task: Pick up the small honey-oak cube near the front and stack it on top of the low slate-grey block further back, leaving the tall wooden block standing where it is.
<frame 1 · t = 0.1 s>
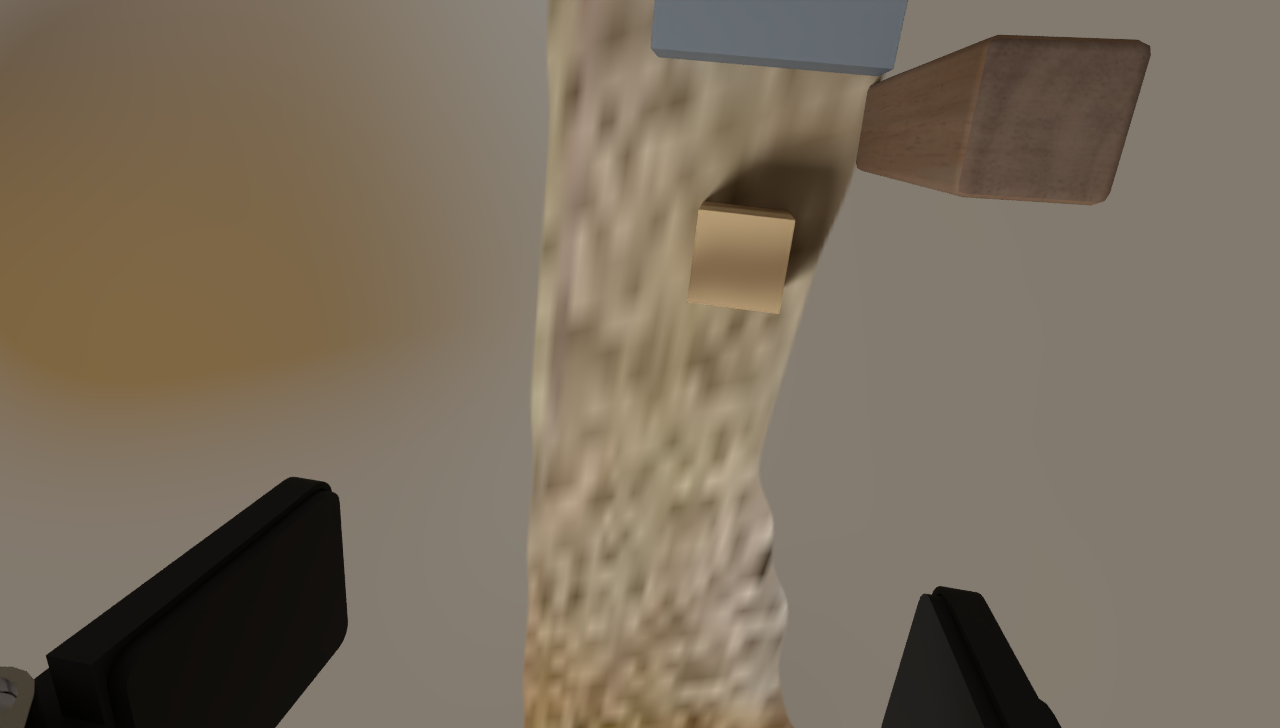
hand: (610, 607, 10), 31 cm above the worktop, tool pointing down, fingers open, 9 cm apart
wooden block: (944, 132, 35), on the worktop
oak cube: (739, 248, 39), on the worktop
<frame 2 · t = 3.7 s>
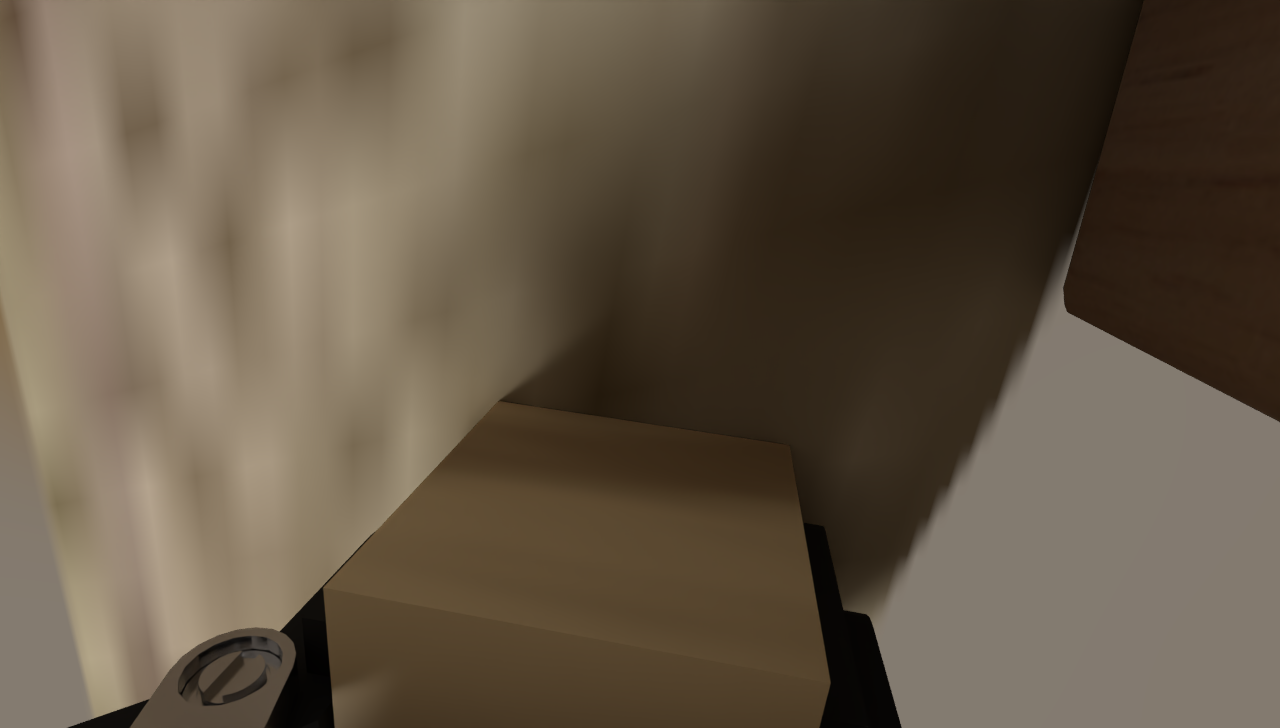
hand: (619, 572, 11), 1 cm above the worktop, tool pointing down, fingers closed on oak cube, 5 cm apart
oak cube: (627, 546, 12), on the worktop, touching gripper
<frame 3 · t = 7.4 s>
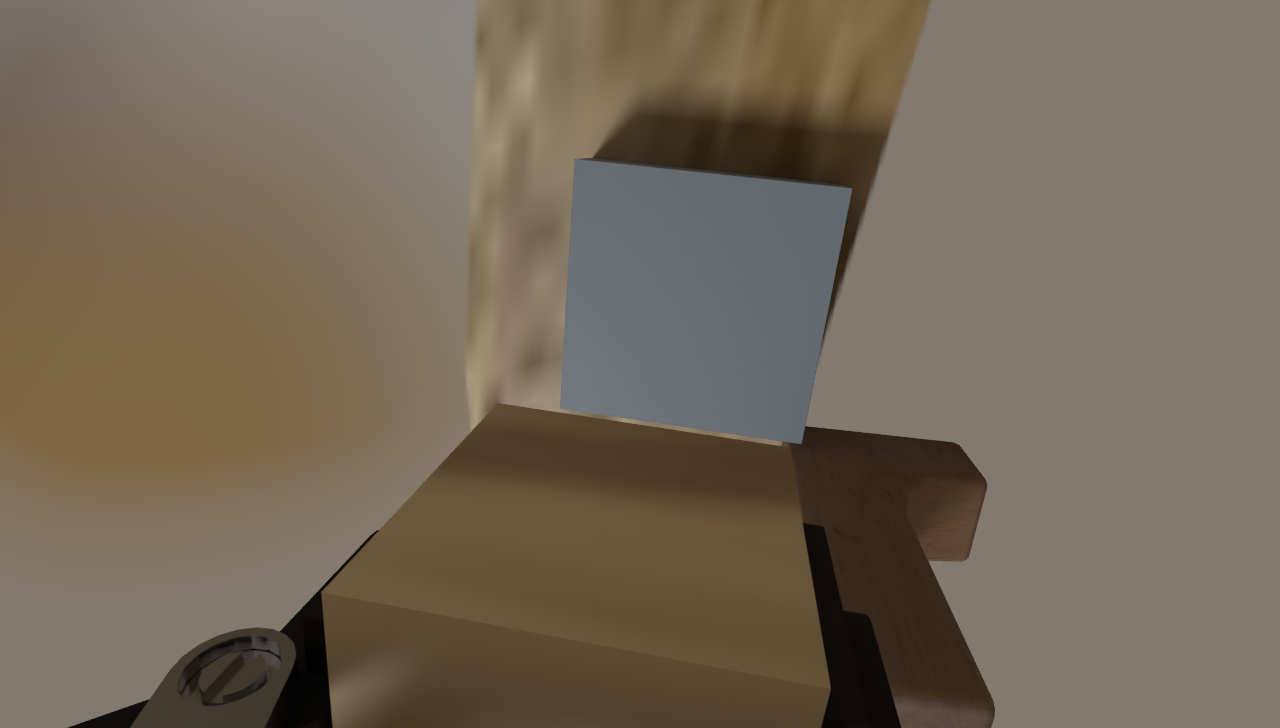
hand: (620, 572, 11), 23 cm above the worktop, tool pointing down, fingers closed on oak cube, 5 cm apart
wooden block: (862, 466, 35), on the worktop
oak cube: (626, 549, 12), point 23 cm above the worktop, touching gripper
slate base block: (698, 290, 33), on the worktop
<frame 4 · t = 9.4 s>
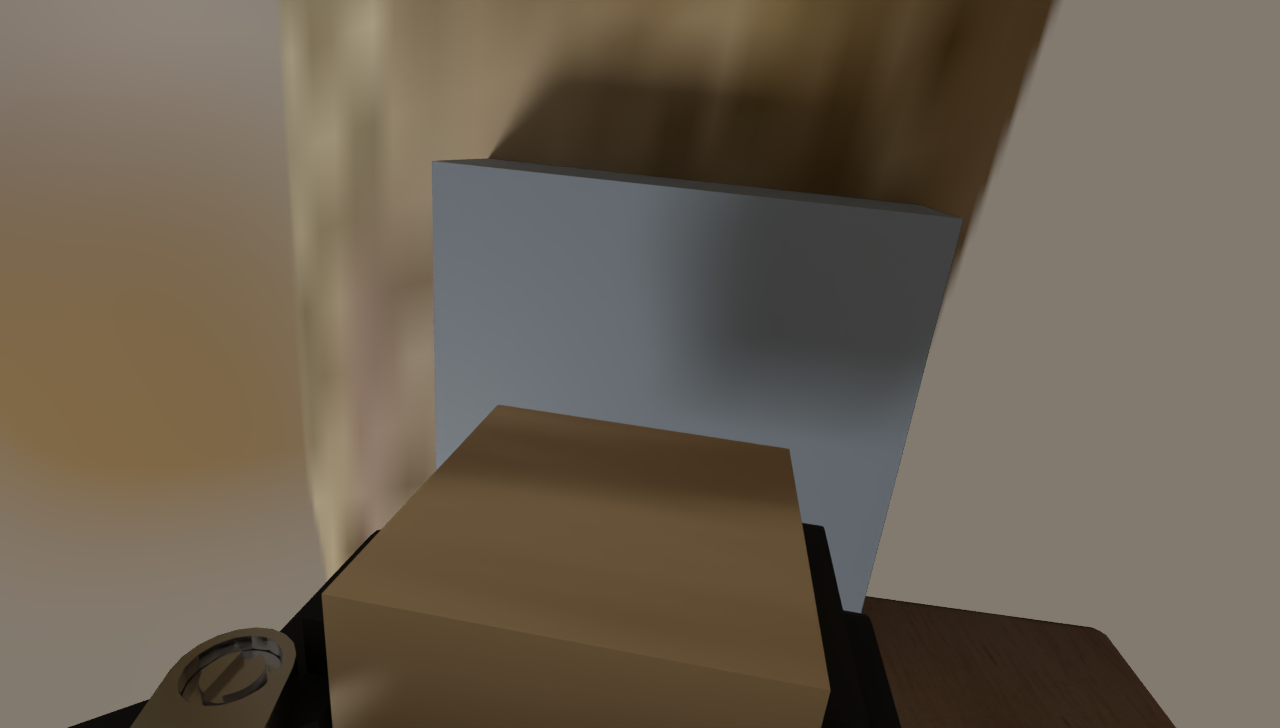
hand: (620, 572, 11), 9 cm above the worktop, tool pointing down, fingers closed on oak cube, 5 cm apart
wooden block: (939, 653, 22), on the worktop
oak cube: (626, 550, 12), point 9 cm above the worktop, touching gripper
slate base block: (672, 377, 20), on the worktop
when the fingers open (5 cm above the worktop, at t = 11.4 s): oak cube stays where it is, resting on slate base block.
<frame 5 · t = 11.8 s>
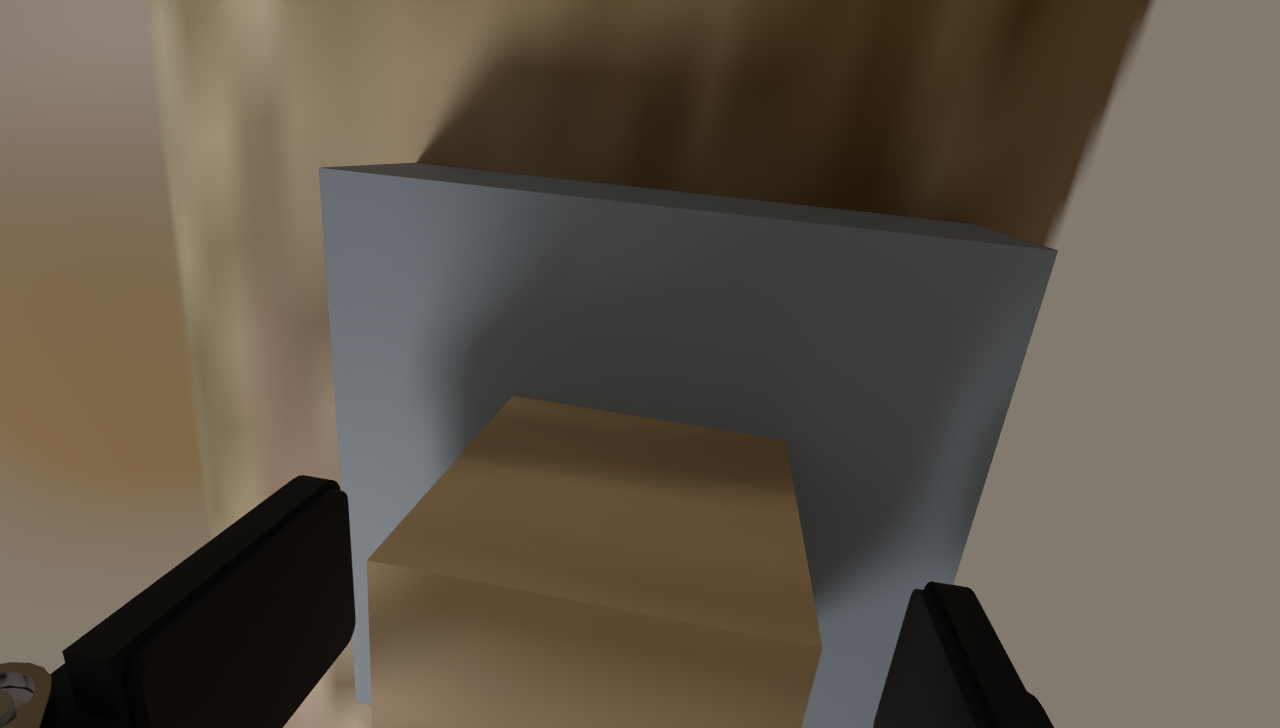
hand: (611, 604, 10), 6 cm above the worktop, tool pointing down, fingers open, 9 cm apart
oak cube: (631, 534, 12), point 3 cm above the worktop, touching slate base block
slate base block: (656, 436, 16), on the worktop, touching oak cube
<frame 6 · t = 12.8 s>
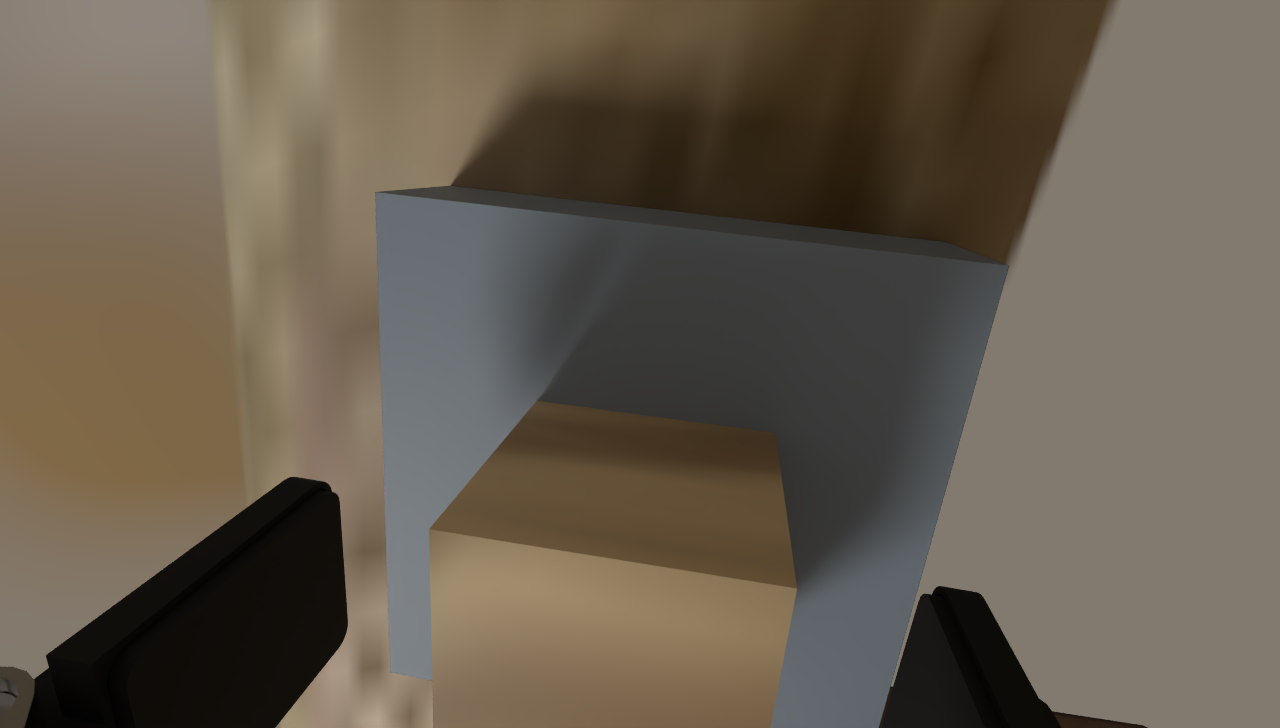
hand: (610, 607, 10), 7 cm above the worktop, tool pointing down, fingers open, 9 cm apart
oak cube: (643, 521, 14), point 3 cm above the worktop, touching slate base block
slate base block: (663, 432, 18), on the worktop, touching oak cube
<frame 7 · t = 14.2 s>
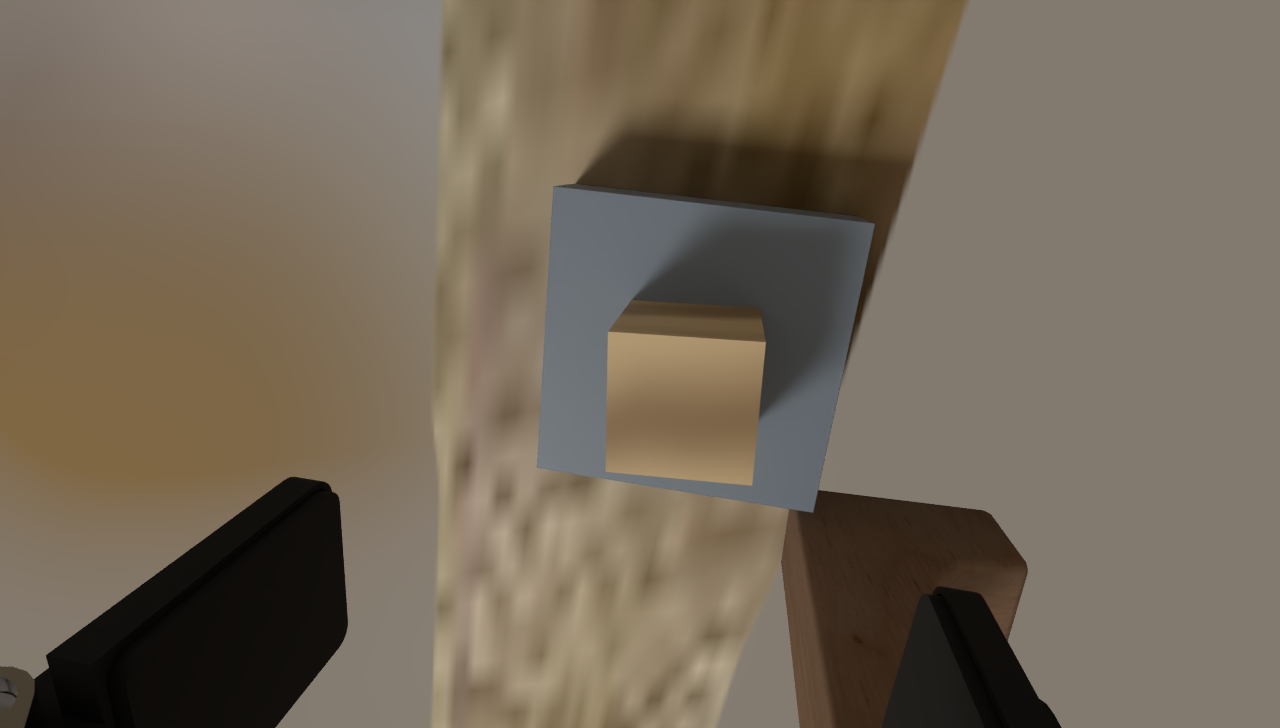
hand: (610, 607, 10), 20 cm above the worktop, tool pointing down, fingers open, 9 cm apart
wooden block: (880, 534, 31), on the worktop
oak cube: (691, 364, 26), point 3 cm above the worktop, touching slate base block
slate base block: (695, 332, 29), on the worktop, touching oak cube
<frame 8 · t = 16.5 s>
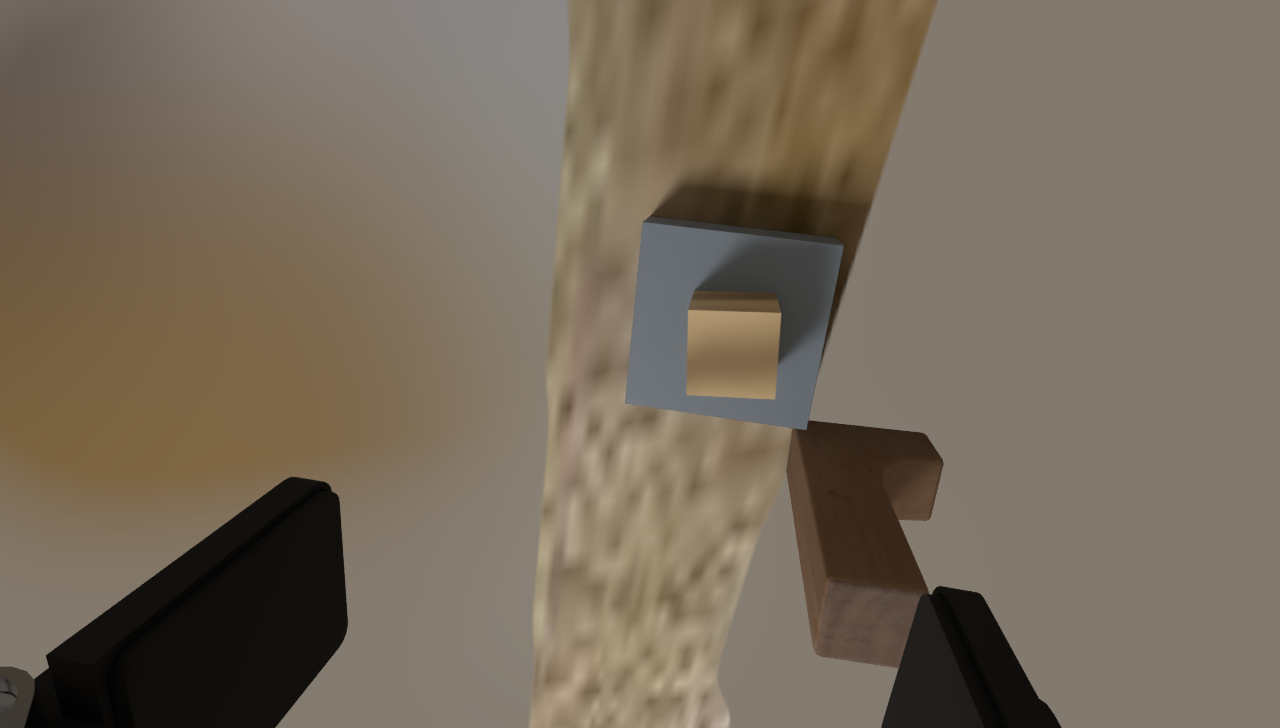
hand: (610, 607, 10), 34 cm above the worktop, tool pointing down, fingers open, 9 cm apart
wooden block: (853, 451, 45), on the worktop
oak cube: (732, 330, 40), point 3 cm above the worktop
slate base block: (728, 314, 44), on the worktop
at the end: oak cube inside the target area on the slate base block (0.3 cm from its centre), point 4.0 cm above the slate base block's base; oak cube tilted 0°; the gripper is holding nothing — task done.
